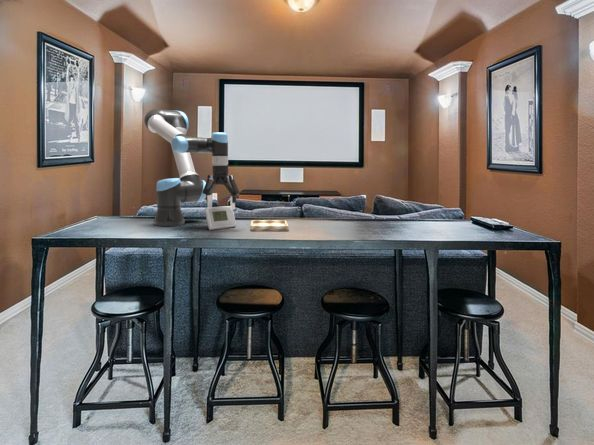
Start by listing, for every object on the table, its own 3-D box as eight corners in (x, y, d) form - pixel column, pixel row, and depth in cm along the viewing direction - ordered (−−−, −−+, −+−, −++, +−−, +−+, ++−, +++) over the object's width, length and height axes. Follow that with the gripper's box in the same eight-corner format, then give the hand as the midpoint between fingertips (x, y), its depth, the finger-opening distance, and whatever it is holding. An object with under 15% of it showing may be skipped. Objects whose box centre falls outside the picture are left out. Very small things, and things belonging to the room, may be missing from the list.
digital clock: (208, 230, 206) (208, 208, 205) (201, 228, 214) (201, 206, 212) (239, 228, 215) (239, 207, 213) (231, 225, 222) (231, 205, 221)
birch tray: (250, 231, 207) (250, 225, 206) (251, 224, 226) (251, 220, 226) (288, 231, 208) (288, 226, 208) (286, 225, 228) (286, 220, 227)
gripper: (194, 165, 212) (195, 208, 214) (237, 165, 201) (238, 210, 204) (204, 165, 218) (205, 207, 221) (246, 165, 208) (246, 209, 210)
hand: (221, 209), depth 212 cm, fingers open, 13 cm apart
